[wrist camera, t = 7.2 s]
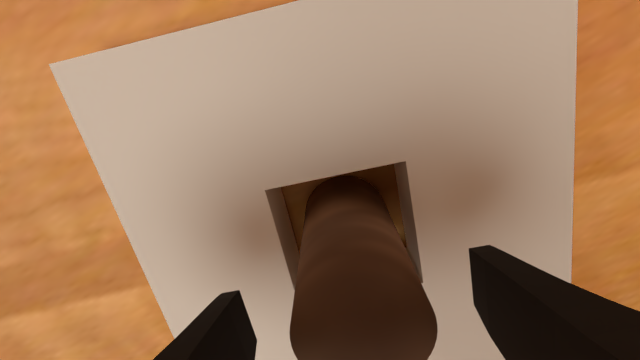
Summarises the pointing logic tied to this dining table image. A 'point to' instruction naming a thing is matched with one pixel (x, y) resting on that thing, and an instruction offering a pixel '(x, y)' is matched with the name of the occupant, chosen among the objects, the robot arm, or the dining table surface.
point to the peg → (357, 282)
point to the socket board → (337, 145)
